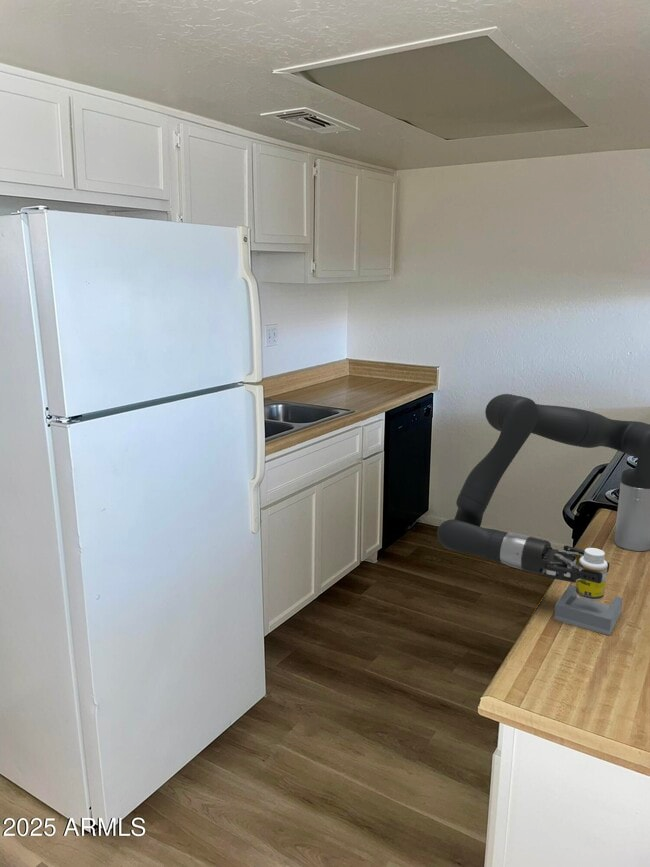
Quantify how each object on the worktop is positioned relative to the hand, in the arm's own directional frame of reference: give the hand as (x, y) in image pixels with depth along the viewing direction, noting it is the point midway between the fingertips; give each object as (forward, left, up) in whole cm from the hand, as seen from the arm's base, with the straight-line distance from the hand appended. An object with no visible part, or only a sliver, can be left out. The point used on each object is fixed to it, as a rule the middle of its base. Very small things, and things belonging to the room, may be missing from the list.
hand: (605, 572), depth 137 cm
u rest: (0, -2, -11) cm, 11 cm away
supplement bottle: (0, -3, -6) cm, 7 cm away
